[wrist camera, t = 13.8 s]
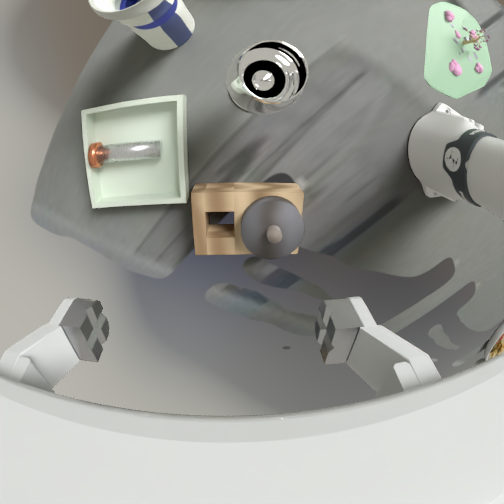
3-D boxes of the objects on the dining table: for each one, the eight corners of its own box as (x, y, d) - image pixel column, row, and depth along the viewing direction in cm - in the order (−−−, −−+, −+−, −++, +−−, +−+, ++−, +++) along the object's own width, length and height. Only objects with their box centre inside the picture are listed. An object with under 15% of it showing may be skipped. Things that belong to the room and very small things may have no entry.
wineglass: (292, 90, 36) (341, 79, 18) (253, 122, 38) (270, 136, 21) (256, 54, 33) (277, 11, 15) (217, 86, 35) (202, 68, 17)
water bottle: (170, -4, 26) (112, -85, 4) (208, 23, 29) (179, -63, 8) (131, 32, 29) (38, -17, 7) (168, 60, 32) (90, 14, 10)
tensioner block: (296, 183, 43) (311, 202, 35) (291, 239, 48) (303, 267, 40) (195, 183, 42) (186, 202, 34) (198, 240, 47) (192, 269, 39)
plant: (467, 127, 38) (497, 137, 30) (399, 60, 33) (430, 56, 25) (495, 51, 28) (522, 53, 20) (435, -15, 22) (462, -24, 14)
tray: (186, 95, 35) (182, 94, 32) (189, 195, 43) (186, 203, 40) (91, 109, 34) (81, 110, 31) (101, 200, 42) (92, 208, 39)
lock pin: (158, 162, 36) (88, 169, 34) (163, 161, 40) (98, 166, 38) (158, 134, 34) (87, 143, 33) (163, 136, 38) (97, 142, 37)
